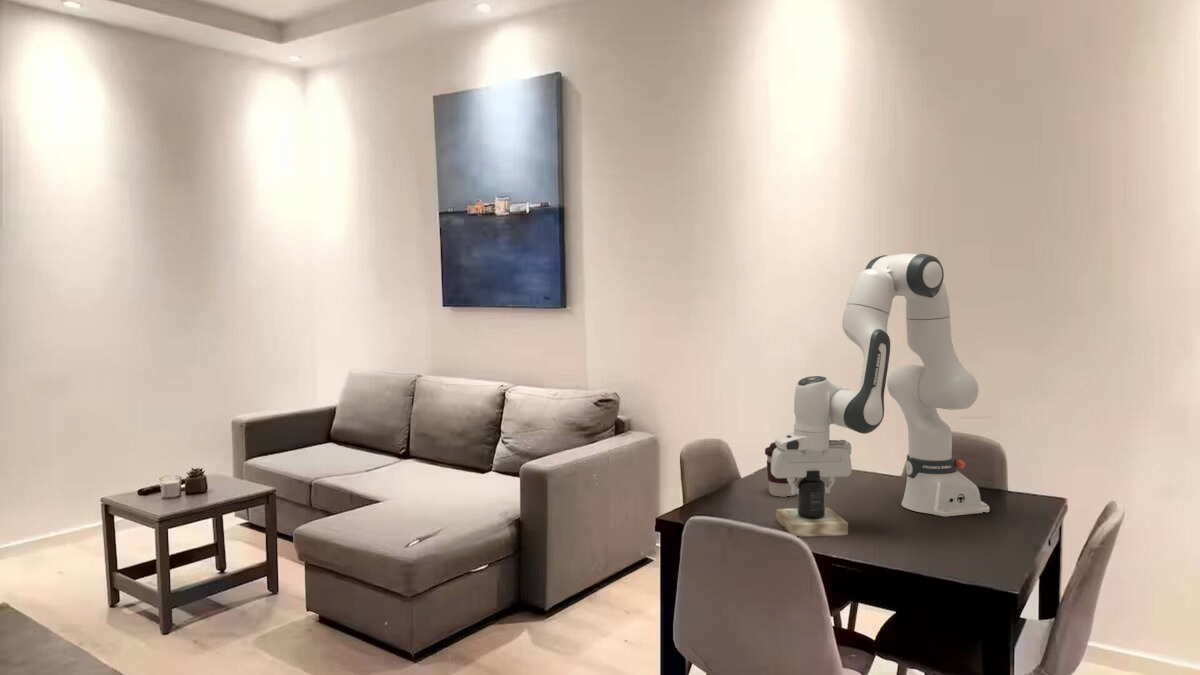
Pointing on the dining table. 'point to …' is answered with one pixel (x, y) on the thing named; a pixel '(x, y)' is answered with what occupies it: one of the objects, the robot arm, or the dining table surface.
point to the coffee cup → (776, 484)
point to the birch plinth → (812, 523)
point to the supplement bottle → (811, 496)
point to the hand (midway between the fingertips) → (810, 494)
